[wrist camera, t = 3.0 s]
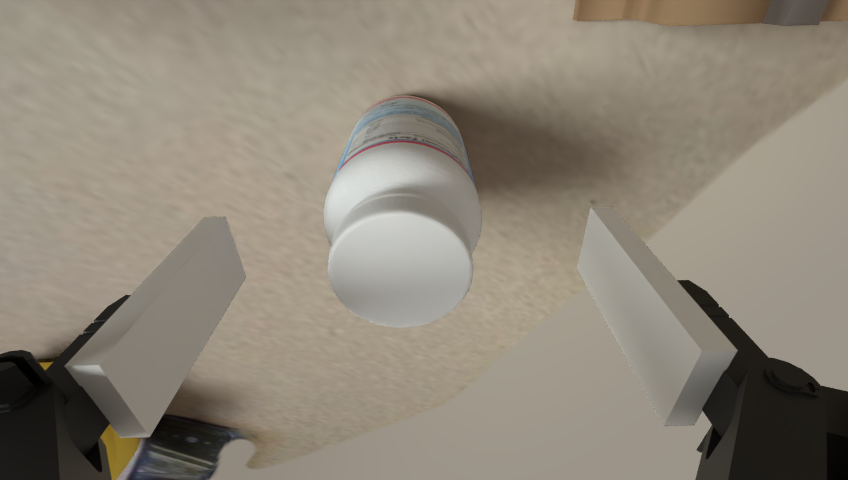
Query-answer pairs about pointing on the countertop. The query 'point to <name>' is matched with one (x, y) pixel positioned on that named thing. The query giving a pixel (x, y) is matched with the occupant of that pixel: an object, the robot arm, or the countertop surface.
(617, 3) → the clip stand
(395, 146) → the pill bottle
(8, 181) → the countertop surface
